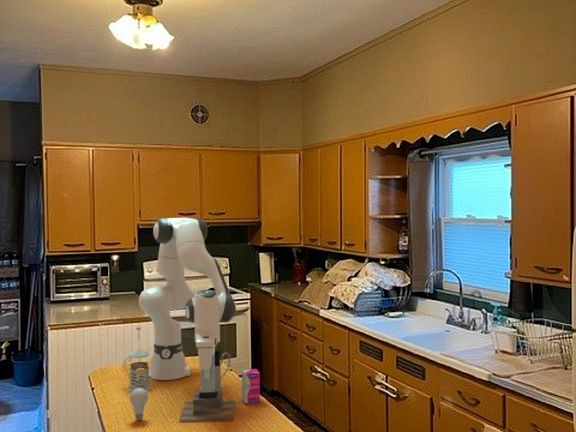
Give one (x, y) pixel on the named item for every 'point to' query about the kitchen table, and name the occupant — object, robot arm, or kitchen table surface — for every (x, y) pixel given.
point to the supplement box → (250, 386)
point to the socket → (207, 408)
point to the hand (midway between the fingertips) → (207, 375)
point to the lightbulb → (138, 401)
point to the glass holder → (219, 370)
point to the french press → (140, 382)
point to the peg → (208, 384)
